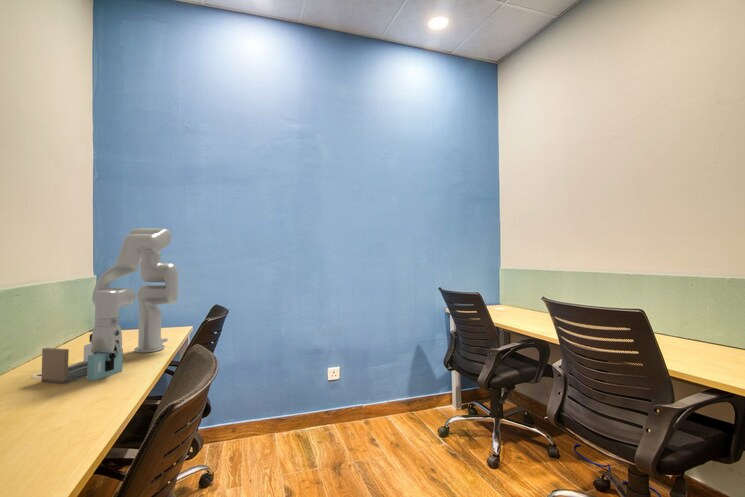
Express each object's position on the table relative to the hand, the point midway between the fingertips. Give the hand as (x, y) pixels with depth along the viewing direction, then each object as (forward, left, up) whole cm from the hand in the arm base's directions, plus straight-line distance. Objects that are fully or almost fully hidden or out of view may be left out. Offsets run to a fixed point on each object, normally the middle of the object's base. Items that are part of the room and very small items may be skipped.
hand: (105, 369), depth 141 cm
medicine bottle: (-16, -22, -2) cm, 27 cm away
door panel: (0, 0, -2) cm, 2 cm away
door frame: (0, -11, -2) cm, 11 cm away
